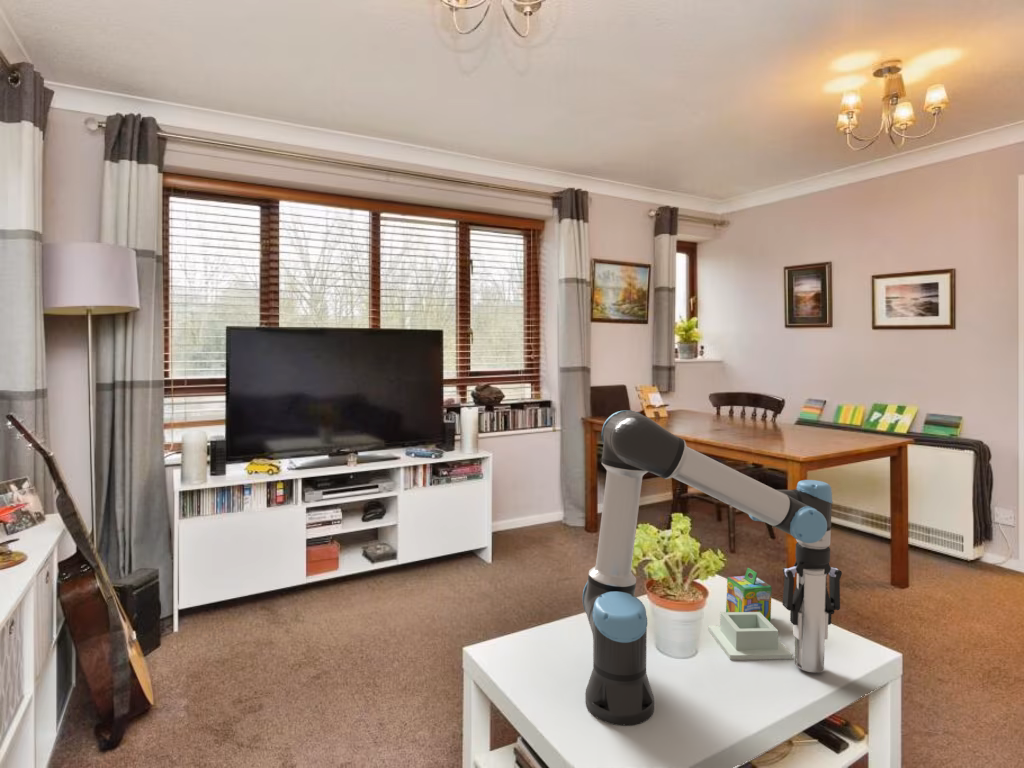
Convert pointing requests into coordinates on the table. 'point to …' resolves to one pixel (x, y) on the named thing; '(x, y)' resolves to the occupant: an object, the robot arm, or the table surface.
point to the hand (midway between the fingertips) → (810, 636)
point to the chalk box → (749, 594)
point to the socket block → (748, 637)
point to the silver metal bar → (812, 621)
